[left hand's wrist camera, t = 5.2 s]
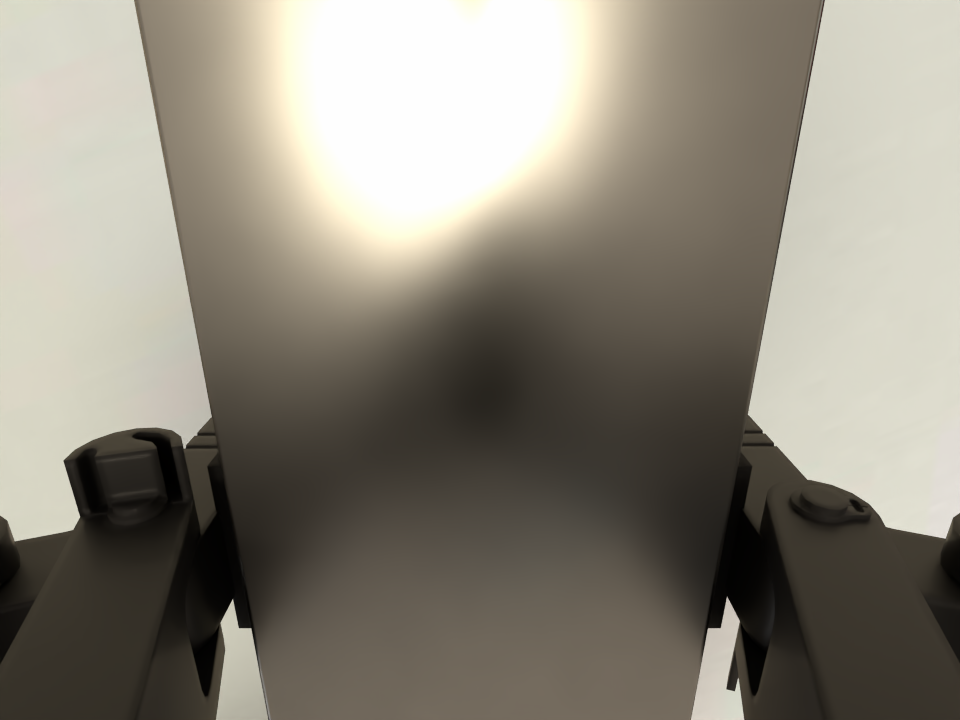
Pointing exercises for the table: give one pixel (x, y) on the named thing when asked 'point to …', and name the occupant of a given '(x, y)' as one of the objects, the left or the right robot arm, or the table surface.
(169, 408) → the table surface
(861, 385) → the table surface
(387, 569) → the bar
